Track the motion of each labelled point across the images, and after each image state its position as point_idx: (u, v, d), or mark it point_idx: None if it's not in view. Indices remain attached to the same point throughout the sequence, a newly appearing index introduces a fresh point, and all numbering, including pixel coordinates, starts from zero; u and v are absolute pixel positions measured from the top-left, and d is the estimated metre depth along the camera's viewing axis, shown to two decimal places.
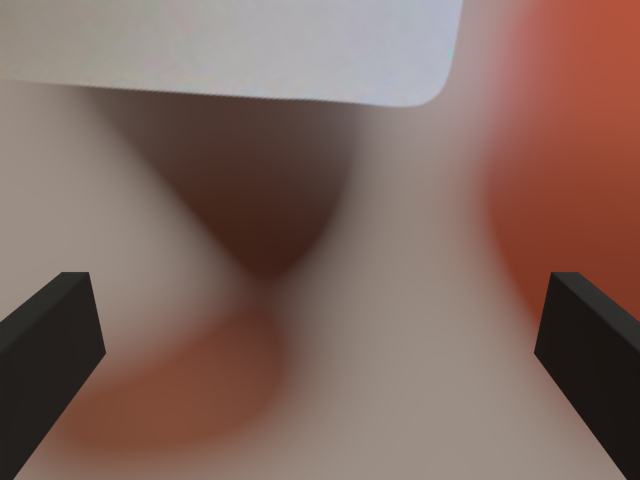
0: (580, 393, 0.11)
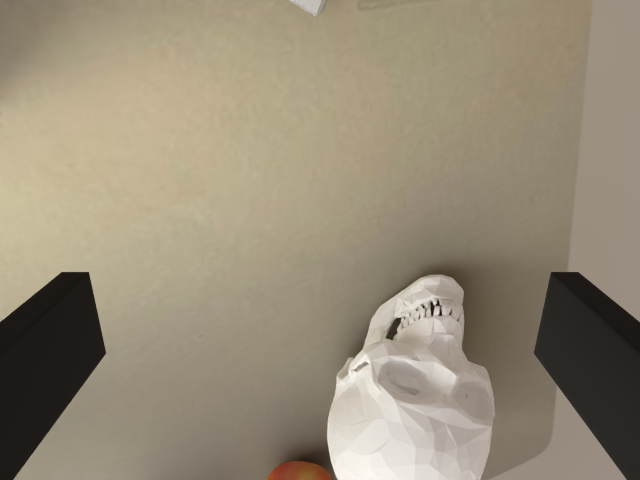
0: (581, 393, 0.11)
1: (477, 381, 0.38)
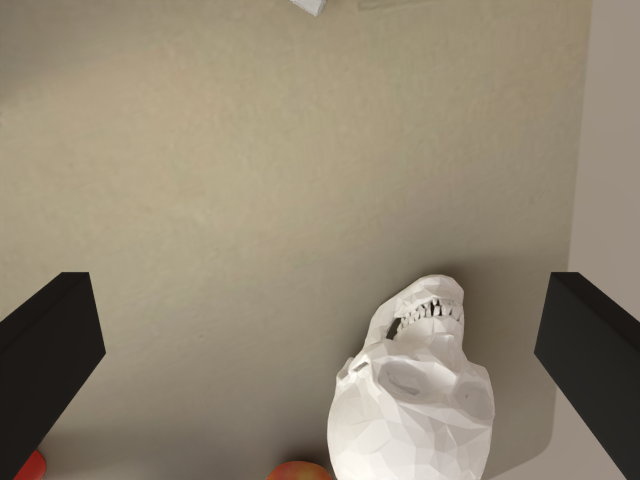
0: (581, 393, 0.11)
1: (477, 381, 0.38)
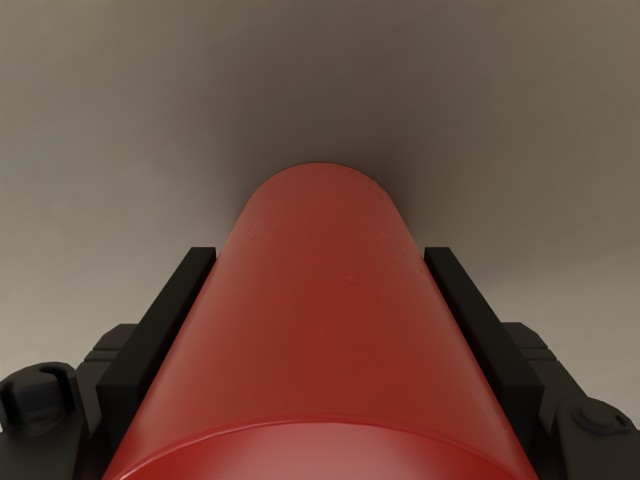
0: None
1: None
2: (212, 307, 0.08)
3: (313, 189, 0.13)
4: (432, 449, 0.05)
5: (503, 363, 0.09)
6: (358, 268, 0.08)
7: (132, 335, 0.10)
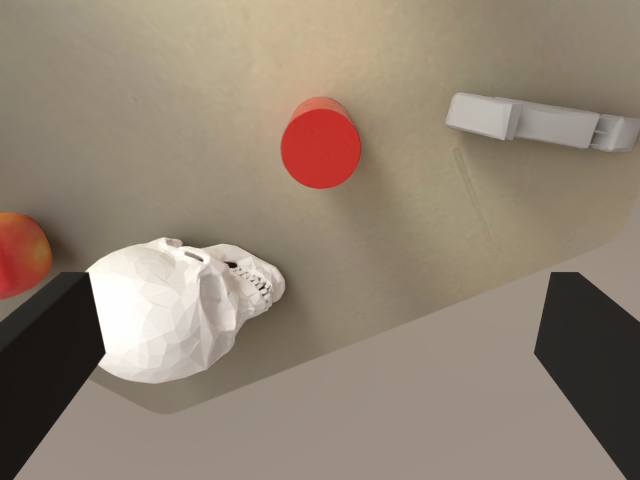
0: (581, 394, 0.11)
1: (227, 343, 0.48)
2: (298, 111, 0.39)
3: (318, 99, 0.44)
4: (335, 114, 0.36)
5: None
6: (328, 105, 0.39)
7: None
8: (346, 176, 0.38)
